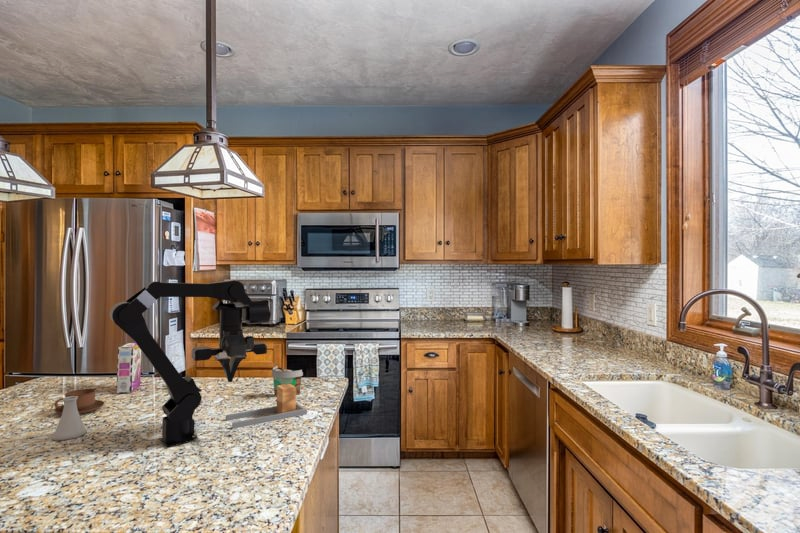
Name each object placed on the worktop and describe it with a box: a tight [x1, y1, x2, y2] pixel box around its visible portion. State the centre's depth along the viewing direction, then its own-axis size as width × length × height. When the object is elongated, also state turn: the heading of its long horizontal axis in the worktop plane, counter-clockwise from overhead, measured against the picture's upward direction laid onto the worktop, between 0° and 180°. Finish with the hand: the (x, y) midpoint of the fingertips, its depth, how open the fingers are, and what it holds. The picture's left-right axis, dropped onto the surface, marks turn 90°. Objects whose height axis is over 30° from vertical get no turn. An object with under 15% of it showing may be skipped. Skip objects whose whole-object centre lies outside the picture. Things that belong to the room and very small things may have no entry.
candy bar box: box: [115, 342, 142, 395], centre depth 152 cm, size 11×5×16 cm, turn 17°
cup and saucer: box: [54, 388, 105, 416], centre depth 128 cm, size 12×12×6 cm
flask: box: [51, 396, 87, 441], centre depth 109 cm, size 7×7×10 cm
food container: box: [270, 365, 304, 396], centre depth 144 cm, size 12×6×10 cm, turn 62°
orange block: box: [276, 384, 297, 414], centre depth 124 cm, size 4×5×8 cm
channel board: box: [225, 402, 308, 430], centre depth 121 cm, size 21×9×3 cm, turn 125°
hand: (229, 381), depth 115 cm, fingers closed
